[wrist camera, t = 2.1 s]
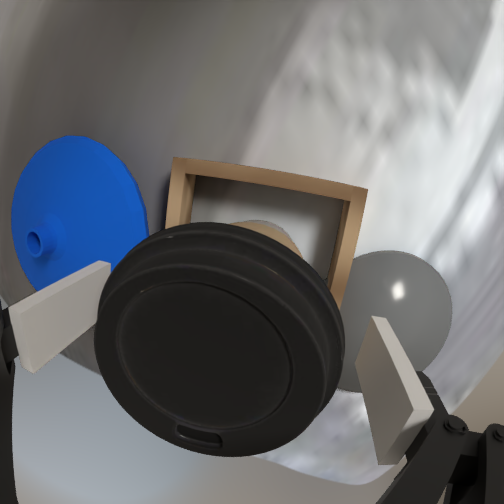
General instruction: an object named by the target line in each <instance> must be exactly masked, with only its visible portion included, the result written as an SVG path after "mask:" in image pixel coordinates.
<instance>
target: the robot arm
mask: <svg viewBox="0 0 504 504" xmlns="http://www.w3.org/2000/svg"><path fill="white" fill-rule="evenodd" d="M110 274H111V263H108V262H104V261H100V260H99V261H97V262H95V263H93V264H91V265H89V266H87V267H85V268H83V269H81V270H79V271H77V272H75V273H73V274H71V275H69V276H67V277H65V278H63V279H61V280H59V281H57V282H55V283H53V284H51V285H49V286H47V287H45V288H44V289H42V290H40V291H38V292H35V293H33V294H31V295H29V296H27V297H26V298H24V299H22V300H21V301H18V302H16V303H15V304H13V305H11V306H9V307H7V308H6V309H4V310H2V307H1V301H0V504H18V501H17V496H16V488H15V480H14V468H13V453H12V403H13V386H14V375H15V363H14V358H16V357H17V356H18V355H19V358H20V362H21V365H22V367H23V368H24V369H26V370H28V371H29V372H31V373H33V374H35V373H36V372H37V371H38V370H39V369H41V368H42V367H43V366H44V365H45V364H46V363H48V362H49V361H50V360H51V359H52V358H54V357H55V356H56V355H57V354H58V353H60V352H61V351H62V350H63V349H64V348H66V347H67V346H68V345H69V344H71V343H72V342H73V341H74V340H75V339H77V338H78V337H79V336H80V335H82V334H83V333H84V332H85V331H87V330H88V329H89V328H90V327H91V326H93V325H94V324H95V323H96V321H97V312H98V305H99V300H100V296H101V292H102V290H103V287H104V285H105V283H106V281H107V279H108V277H109V275H110ZM355 366H356V370H357V374H358V378H359V382H360V386H361V390H362V394H363V398H364V402H365V406H366V410H367V414H368V419H369V423H370V428H371V432H372V437H373V441H374V446H375V451H376V456H377V460H378V465H393V464H398V463H399V461H400V460H401V459H402V457H403V456H404V455H406V458H407V463H406V465H405V466H404V467H403V469H402V470H401V471H400V472H399V474H398V475H397V476H396V477H395V478H394V481H393V482H392V484H391V485H390V486H389V488H388V489H387V490H386V491H385V493H384V494H383V495H382V496H381V498H380V499H379V500H378V501H377V502H376V504H437V503H438V501H439V499H440V497H441V495H442V493H443V491H444V489H445V487H446V485H447V488H446V492H445V498H444V502H443V504H504V426H503V425H500V424H490V425H489V426H488V427H487V429H486V430H485V431H484V433H477V432H472V431H469V429H468V427H467V425H466V423H465V422H464V421H463V420H462V419H460V418H458V417H457V416H454V415H449V414H448V412H447V411H446V409H445V407H444V405H443V403H442V401H441V399H440V397H439V395H437V392H436V390H435V388H434V386H433V384H432V382H431V380H430V379H429V378H428V377H427V376H426V375H425V374H424V373H423V372H422V371H415V370H414V368H413V366H412V364H411V362H410V361H409V359H408V357H407V355H406V353H405V351H404V349H403V348H402V346H401V344H400V342H399V340H398V338H397V337H396V335H395V333H394V331H393V330H392V328H391V326H390V324H389V322H388V321H387V319H386V318H383V317H377V316H371V319H370V322H369V325H368V328H367V331H366V334H365V337H364V340H363V342H362V345H361V348H360V351H359V354H358V356H357V359H356V362H355Z"/></svg>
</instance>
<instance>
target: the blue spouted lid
mask: <svg viewBox="0 0 504 504" xmlns="http://www.w3.org/2000/svg"><path fill="white" fill-rule="evenodd" d="M11 220H12V234H13V240H14V246H15V250H16V253H17V256H18V258H19V261H20V264H21V267H22V269H23V270H24V272H25V274H26V276H27V278H28V279H29V281H30V283H31V284H32V285H33V287H34V288H35V289H36V290H37V291H40V290H42V289H44V288H45V287H47V286H49V285H51V284H53V283H55V282H57V281H59V280H61V279H63V278H65V277H67V276H69V275H71V274H73V273H75V272H77V271H79V270H81V269H83V268H85V267H87V266H89V265H91V264H93V263H95V262H97V261H99V260H100V261H104V262H108V263H111V272H112V271H113V269H114V268H115V267H116V265H117V264H118V263H119V262H120V261H121V260H122V259H123V258H124V257H125V255H126V254H127V253H128V252H129V251H130V250H131V249H132V248H133V247H135V246H136V245H137V244H138V243H140V242H141V241H142V240H144V239H146V238H147V237H149V229H148V221H147V213H146V207H145V205H144V202H143V199H142V196H141V193H140V190H139V187H138V184H137V183H136V181H135V180H134V178H133V176H132V175H131V173H130V172H129V170H128V168H127V167H126V165H125V164H124V163H123V162H122V161H121V160H120V159H119V158H118V157H117V156H116V155H115V154H113V153H112V152H111V151H110V150H109V149H108V148H107V147H105V146H104V145H103V144H100V143H98V142H96V141H94V140H92V139H89V138H87V137H85V136H64V137H61V138H58V139H55V140H53V141H50V142H49V143H47V144H46V145H45V146H44V147H42V148H41V149H40V150H38V151H37V152H36V153H35V155H34V156H33V157H32V159H31V160H30V161H29V163H28V164H27V166H26V167H25V169H24V170H23V172H22V174H21V176H20V178H19V181H18V183H17V186H16V189H15V192H14V198H13V203H12V215H11Z"/></svg>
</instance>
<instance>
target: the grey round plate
mask: <svg viewBox="0 0 504 504" xmlns="http://www.w3.org/2000/svg"><path fill="white" fill-rule="evenodd" d="M328 281H329V280H328V277H327V278H326V279H325V280H324V282H325V284H326V285H328ZM339 311H340V314H341V317H342V321H343V325H344V332H345V354H344V361H343V369H342V374H341V378H340V381H339V384H338V386H337V387H338V388H340V389H344V390H347V391H351V392H358V393H362V390H361V386H360V382H359V378H358V374H357V370H356V366H355V362H356V359H357V356H358V354H359V351H360V348H361V345H362V342H363V340H364V337H365V334H366V331H367V328H368V325H369V322H370V319H371V316H377V317H383V318H386V319H387V321H388V322H389V324H390V326H391V328H392V330H393V331H394V333H395V335H396V337H397V338H398V340H399V342H400V344H401V346H402V348H403V349H404V351H405V353H406V355H407V357H408V359H409V361H410V362H411V364H412V366H413V368H414V370H415V371H423V370H424V369H425V368H426V367H427V366H428V365H429V364H430V363H431V362H432V361H433V360H434V359H435V357H436V356H437V355H438V353H439V352H440V350H441V349H442V347H443V345H444V343H445V341H446V339H447V336H448V333H449V330H450V326H451V321H452V302H451V296H450V293H449V290H448V287H447V285H446V283H445V281H444V280H443V278H442V277H441V275H440V274H439V273H438V272H437V271H436V270H435V269H434V268H433V267H432V266H431V265H429V264H428V263H427V262H425V261H424V260H422V259H421V258H419V257H417V256H415V255H412V254H409V253H405V252H401V251H377V252H371V253H368V254H364V255H361V256H359V257H356V258H354V259H353V261H352V265H351V269H350V273H349V277H348V281H347V285H346V288H345V292H344V296H343V299H342V303H341V306H340V310H339Z"/></svg>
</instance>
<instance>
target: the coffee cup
mask: <svg viewBox="0 0 504 504" xmlns="http://www.w3.org/2000/svg"><path fill="white" fill-rule="evenodd" d="M94 346H95V354H96V359H97V363H98V366H99V369H100V372H101V374H102V377H103V379H104V381H105V383H106V385H107V387H108V388H109V390H110V391H111V393H112V395H113V396H114V397H115V399H116V400H117V401H118V403H119V404H120V405H121V406H122V408H123V409H125V411H126V412H127V413H128V414H129V415H130V416H132V418H133V419H135V420H136V421H137V422H138V423H139V424H140V425H142V426H143V427H144V428H146V429H147V430H149V431H150V432H152V433H153V434H155V435H156V436H158V437H160V438H162V439H164V440H165V441H168V442H169V443H172V444H174V445H176V446H179V447H181V448H184V449H187V450H190V451H193V452H197V453H201V454H206V455H212V456H222V457H242V456H251V455H257V454H261V453H265V452H268V451H271V450H274V449H276V448H279V447H281V446H283V445H285V444H287V443H289V442H290V441H292V440H293V439H295V438H296V437H297V436H299V435H300V434H301V433H302V432H303V431H304V430H305V429H306V428H307V427H308V426H309V425H310V424H311V422H312V421H313V420H314V418H315V417H317V416H318V414H319V413H320V412H321V411H322V410H323V409H324V408H325V407H326V405H327V404H328V403H329V401H330V400H331V398H332V396H333V395H334V393H335V391H336V388H337V386H338V384H339V381H340V378H341V374H342V369H343V361H344V354H345V332H344V325H343V321H342V317H341V314H340V311H339V308H338V306H337V303H336V301H335V299H334V297H333V295H332V293H331V292H330V290H329V288H328V287H327V285H326V284H325V282H324V281H323V280H322V278H321V277H320V276H319V275H318V273H317V272H316V271H315V270H314V269H313V268H312V267H311V266H310V265H309V264H308V263H307V262H306V261H305V260H304V259H303V257H302V255H301V253H300V251H299V250H298V248H297V247H296V245H295V244H294V242H293V241H292V239H291V238H290V236H289V235H288V234H287V233H286V232H285V231H284V230H283V229H282V228H281V227H279V226H277V225H276V224H273V223H270V222H267V221H261V220H249V221H244V222H237V223H231V224H225V223H214V222H197V223H188V224H182V225H177V226H173V227H170V228H167V229H164V230H161V231H159V232H157V233H155V234H153V235H151V236H149V237H147V238H146V239H144V240H142V241H141V242H140V243H138V244H137V245H136V246H135V247H133V248H132V249H131V250H130V251H129V252H128V253H127V254H126V255H125V257H124V258H123V259H122V260H121V261H120V262H119V263H118V264H117V265H116V267H115V268H114V269H113V271H112V272H111V274H110V275H109V277H108V279H107V281H106V283H105V285H104V287H103V290H102V292H101V296H100V300H99V305H98V312H97V321H96V325H95V332H94Z"/></svg>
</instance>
